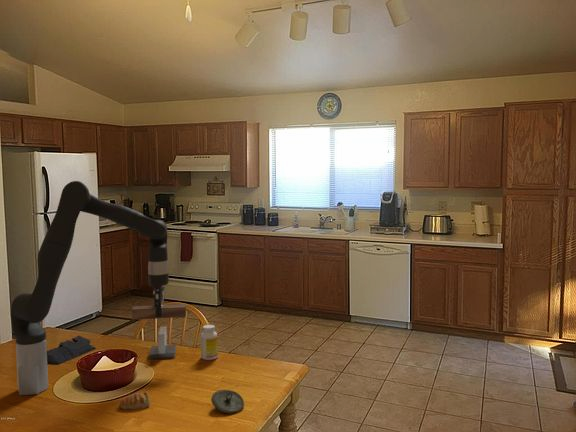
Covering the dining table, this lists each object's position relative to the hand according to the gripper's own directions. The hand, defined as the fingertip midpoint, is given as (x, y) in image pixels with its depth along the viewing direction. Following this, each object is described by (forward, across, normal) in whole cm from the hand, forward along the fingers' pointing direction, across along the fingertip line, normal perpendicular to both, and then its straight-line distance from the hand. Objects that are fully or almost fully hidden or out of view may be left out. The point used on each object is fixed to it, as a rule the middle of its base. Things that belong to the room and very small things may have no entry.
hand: (159, 315), depth 189 cm
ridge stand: (+19, +11, 0) cm, 22 cm away
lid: (+20, -40, -25) cm, 51 cm away
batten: (+1, 0, 0) cm, 1 cm away
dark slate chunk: (+20, +18, +40) cm, 48 cm away
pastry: (+20, -34, +4) cm, 39 cm away
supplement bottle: (+20, +4, -19) cm, 27 cm away
